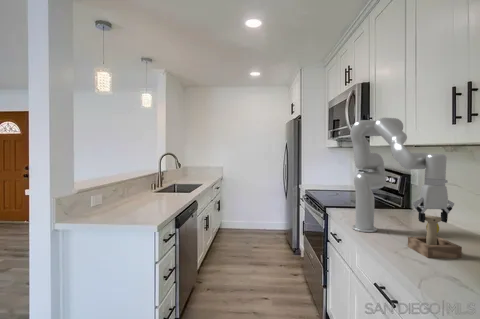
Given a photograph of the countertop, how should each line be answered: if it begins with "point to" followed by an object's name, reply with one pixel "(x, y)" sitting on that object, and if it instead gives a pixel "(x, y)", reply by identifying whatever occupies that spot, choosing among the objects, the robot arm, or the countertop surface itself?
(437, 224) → the lemon
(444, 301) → the countertop surface
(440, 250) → the square frame
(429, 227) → the handle
